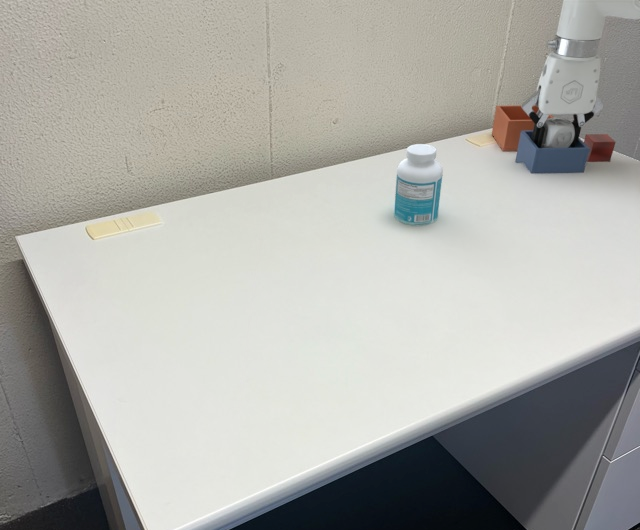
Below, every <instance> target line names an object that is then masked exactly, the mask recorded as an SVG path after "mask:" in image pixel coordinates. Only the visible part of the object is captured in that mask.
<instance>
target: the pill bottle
mask: <svg viewBox="0 0 640 530" xmlns="http://www.w3.org/2000/svg"><path fill="white" fill-rule="evenodd" d="M405 155H406V158H404V159H402V160H401V161H400V162H399V163H398V164H397V168H396V177H395V178H396V180H395V194H394V211H393V216H394V218H395V219H396V220H397V221H398V222H400V223H402V224H405V225H407V226H414V227H418V226H419V227H420V226H429V225H431V224H434V223H435V222H436V221H437V220H438V217H439V209H440V201H441V200H440V199H441V190H442V184H443V183H442V181H443V174H444V173H443V172H444V169H443V166H442V164H441V163H440V162H439V161H438V160H437V159H436V158H437V148H436V147H435V146H434V145H431V144H426V143H415V144H411V145H409V146H408V147H407V148H406V154H405Z"/></svg>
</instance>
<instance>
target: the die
mask: <svg viewBox="0 0 640 530" xmlns="http://www.w3.org/2000/svg"><path fill="white" fill-rule="evenodd" d="M572 122H573V121H571V120H569V119H567V118H562V117H554V118H549V119H547V120H546V121H545V123H544V128H545V132H544V137H543V141H542V146H541V148H568V147H569V146H570V145H571V143H572V142H573V140H574V136H575V129H574V126H573V124H572Z"/></svg>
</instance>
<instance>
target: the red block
mask: <svg viewBox="0 0 640 530" xmlns="http://www.w3.org/2000/svg"><path fill="white" fill-rule="evenodd" d="M583 139H584V140H583V142H584V143H585V144H586V145H587V146H588V147H589V148H590V150H589V154H588V158H587V162H586V163H610V162H611V159H612V156H613V154H614V150H615V146H616V141H615V140H614V139H613V138H612V137H611V136H610V135H609V134H608V133H587V134H585V136H584V138H583Z"/></svg>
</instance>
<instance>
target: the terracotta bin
mask: <svg viewBox="0 0 640 530" xmlns="http://www.w3.org/2000/svg"><path fill="white" fill-rule="evenodd" d="M521 105H522V104H521ZM521 105H517V104H516V105H515V104H514V105H512V104H511V105H510V104H509V105H496V107H495V110H494V111H495V112H494V117H493V123H492V130H491V136H492V135H493V136H494V137H493V136H492V137H493V139H494V138H495V139H496V140H497V142H496V143H497V144H498V146H499V148H500V149H501V150H502V152H517V150H518V145H519V139H520V134H521V131H527V130H533V129H534V124H535V123H534V122H533V121H532V120H531V118H530V117H529V116H528V115H527V114H526V112H525V111H524V110H523V109H522V108H521ZM532 110H533V111H534V112H535V113H537V112H538V110H539V107H537V106H535V104H534V105H533V106H532ZM549 118H555V117H554V116H553V115H551V114H550V115H549V116H548V118H547V119H549ZM495 139H494V140H495ZM496 140H495V141H496Z"/></svg>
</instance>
